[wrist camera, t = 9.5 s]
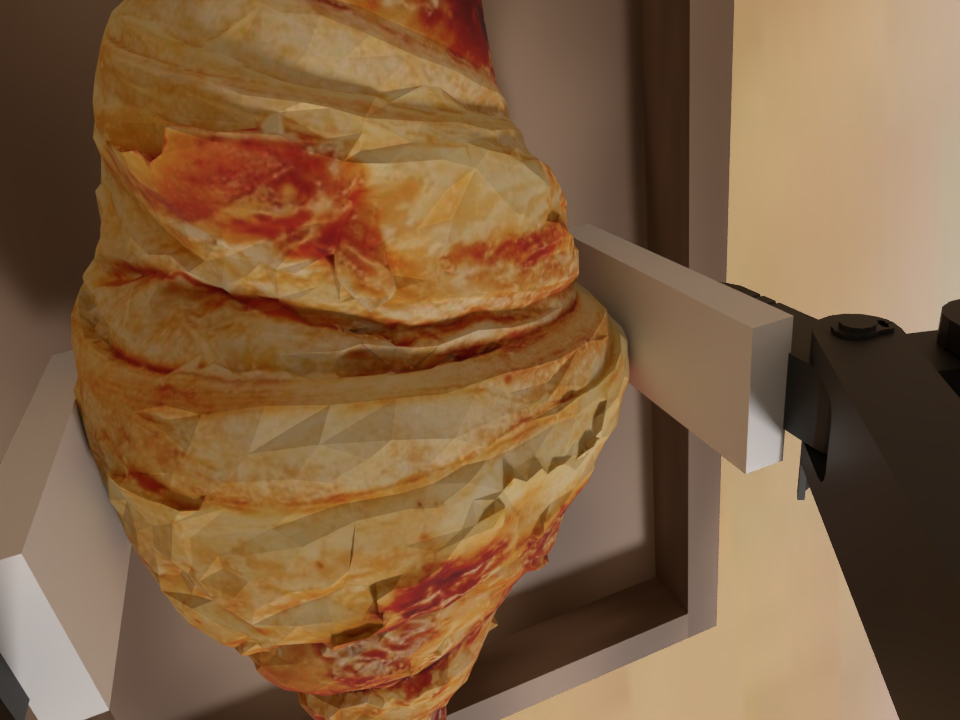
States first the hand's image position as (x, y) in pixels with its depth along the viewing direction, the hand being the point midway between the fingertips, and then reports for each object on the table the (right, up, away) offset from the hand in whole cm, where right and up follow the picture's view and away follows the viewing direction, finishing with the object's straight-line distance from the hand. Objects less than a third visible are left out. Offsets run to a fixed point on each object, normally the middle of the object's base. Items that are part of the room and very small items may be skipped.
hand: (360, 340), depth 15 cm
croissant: (0, 0, 0) cm, 1 cm away
